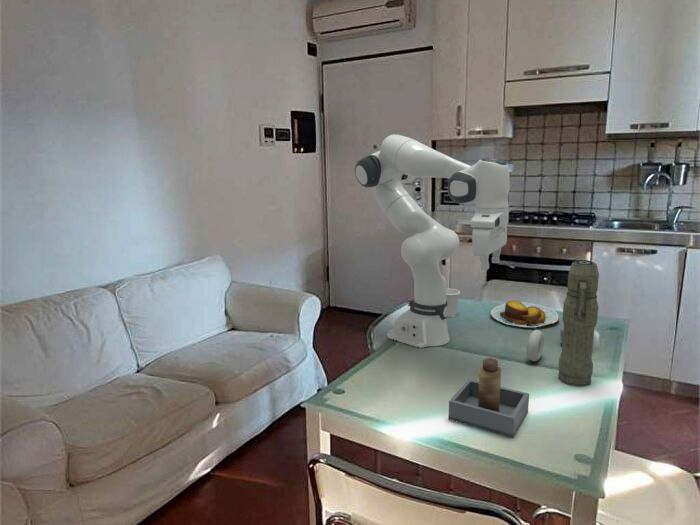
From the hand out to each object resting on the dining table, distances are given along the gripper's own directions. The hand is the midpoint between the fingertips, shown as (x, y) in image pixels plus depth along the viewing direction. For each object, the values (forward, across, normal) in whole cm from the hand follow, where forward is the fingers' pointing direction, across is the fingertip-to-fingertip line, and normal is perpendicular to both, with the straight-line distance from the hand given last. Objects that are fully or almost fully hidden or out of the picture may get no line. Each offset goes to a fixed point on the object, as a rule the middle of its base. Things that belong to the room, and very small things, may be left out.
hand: (490, 266), depth 140 cm
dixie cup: (+33, -46, -30) cm, 64 cm away
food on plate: (+34, -56, -3) cm, 66 cm away
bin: (+34, +22, +7) cm, 41 cm away
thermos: (+34, -10, +23) cm, 42 cm away
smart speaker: (+34, -36, +19) cm, 53 cm away
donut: (+34, -18, +10) cm, 39 cm away
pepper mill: (+33, +22, +7) cm, 40 cm away
